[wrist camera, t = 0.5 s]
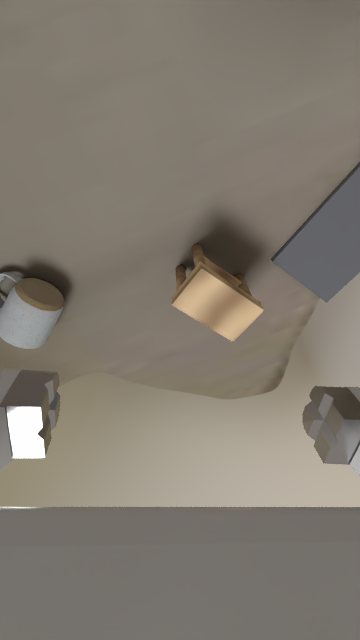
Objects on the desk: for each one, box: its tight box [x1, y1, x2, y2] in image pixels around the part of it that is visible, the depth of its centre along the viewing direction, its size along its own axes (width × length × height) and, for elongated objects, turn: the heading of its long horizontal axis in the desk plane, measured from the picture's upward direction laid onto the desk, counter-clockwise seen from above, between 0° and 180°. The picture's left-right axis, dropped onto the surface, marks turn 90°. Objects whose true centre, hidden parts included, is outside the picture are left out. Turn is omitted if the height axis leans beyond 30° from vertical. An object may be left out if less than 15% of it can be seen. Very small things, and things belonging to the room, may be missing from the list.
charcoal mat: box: [271, 163, 360, 302], centre depth 46 cm, size 18×12×1 cm, turn 144°
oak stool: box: [172, 244, 264, 342], centre depth 45 cm, size 10×6×10 cm, turn 54°
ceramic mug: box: [0, 272, 64, 349], centre depth 47 cm, size 11×8×8 cm
